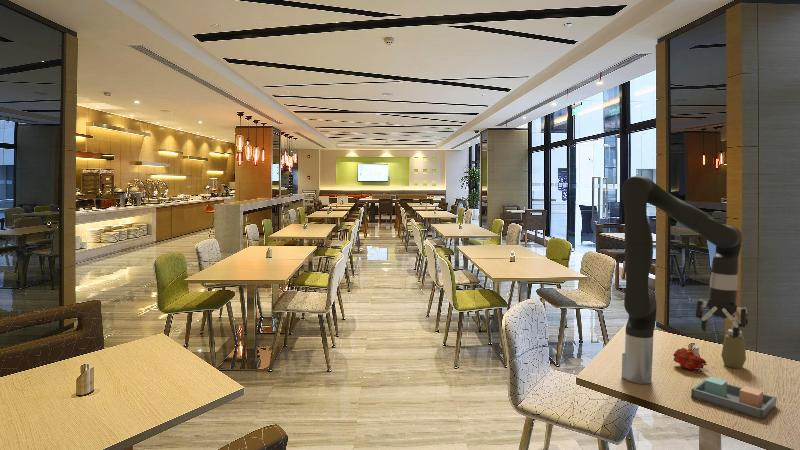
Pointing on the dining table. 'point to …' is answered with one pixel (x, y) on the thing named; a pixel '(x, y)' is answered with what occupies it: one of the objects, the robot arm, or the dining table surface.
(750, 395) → the terracotta block
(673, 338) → the dining table surface
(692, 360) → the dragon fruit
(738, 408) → the tray
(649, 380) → the robot arm
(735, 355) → the squeeze bottle
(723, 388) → the teal block
